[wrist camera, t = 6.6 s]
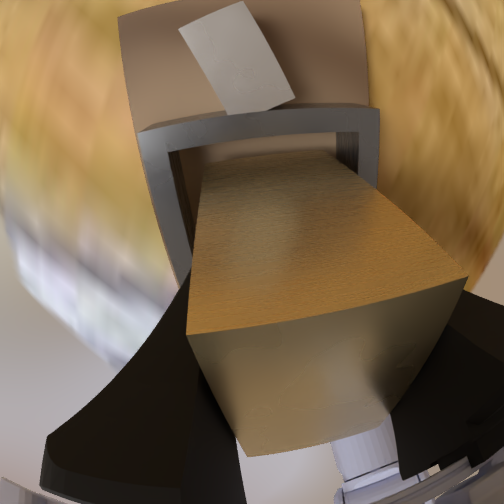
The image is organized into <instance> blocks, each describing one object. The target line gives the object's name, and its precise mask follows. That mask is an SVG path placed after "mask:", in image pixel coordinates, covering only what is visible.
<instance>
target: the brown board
mask: <svg viewBox="0 0 504 504" xmlns="http://www.w3.org/2000/svg"><path fill="white" fill-rule="evenodd" d="M118 27H119V37H120V46H121V54H122V61H123V68H124V75H125V81H126V88H127V93H128V99H129V105H130V110H131V115H132V120H133V125H134V130H135V135H136V140H137V144H138V149H139V153H140V157H141V162H142V166H143V170H144V174H145V178H146V182H147V186H148V190H149V193H150V197H151V201H152V205H153V208H154V212H155V215H156V219H157V222H158V226H159V229H160V232H161V236H162V239H163V242H164V246H165V249H166V252H167V255H168V258H169V261H170V264H171V267H172V270H173V273H174V276H175V279H176V282H177V285H178V288H179V289H180V287H181V285H182V283H183V281H184V280H185V278H186V276H187V274H188V272H189V270H190V268H191V266H192V259H193V250H194V241H195V233H196V225H197V217H198V209H199V202H200V195H201V188H202V181H203V174H204V168H205V163H211V162H217V161H223V160H230V159H237V158H244V157H252V156H260V155H269V154H278V153H288V152H300V151H313V150H324V151H325V152H327V153H328V154H329V155H331V156H332V157H334V158H335V159H337V160H338V161H339V162H341V163H342V164H343V165H345V166H346V167H348V168H349V169H350V170H352V171H353V172H354V173H356V174H357V175H358V176H360V177H361V178H362V179H364V180H365V181H366V182H367V183H369V184H370V185H371V186H373V187H374V188H375V189H377V176H378V160H379V132H380V109H378V108H373V107H369V90H368V70H367V56H366V45H365V36H364V27H363V19H362V12H361V6H360V0H178V1H174V2H169V3H165V4H161V5H157V6H153V7H149V8H145V9H142V10H138V11H135V12H132V13H129V14H125V15H122V16H120V17H118Z"/></svg>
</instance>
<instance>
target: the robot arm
mask: <svg viewBox="0 0 504 504" xmlns="http://www.w3.org/2000/svg"><path fill="white" fill-rule="evenodd" d="M191 269H192V266H191V268H190V270H189V272H188V274H187V276H186V278H185V280H184V281H183V283H182V285H181V287H180V289H179V290H178V292H177V294H176V295H175V297H174V299H173V301H172V302H171V304H170V306H169V307H168V309H167V310H166V312H165V313H164V315H163V316H162V318H161V319H160V321H159V322H158V324H157V325H156V327H155V328H154V330H153V331H152V333H151V334H150V335H149V337H148V338H147V339H146V341H145V342H144V343H143V345H142V346H141V347H140V349H139V350H138V351H137V352H136V354H135V355H134V356H133V357H132V358H131V360H130V361H129V362H128V363H127V364H126V365H125V366H124V367H123V369H122V370H121V371H120V372H119V373H118V374H117V375H116V376H115V378H114V379H113V380H112V381H111V382H110V383H109V384H108V385H107V386H106V387H105V388H104V389H103V390H102V391H101V392H100V393H99V394H98V395H97V396H96V397H95V398H93V399H92V400H91V401H90V402H89V403H88V404H87V405H86V406H85V407H83V408H82V409H81V410H80V411H79V412H78V413H77V414H75V415H74V416H73V417H72V418H70V419H69V420H68V421H67V422H65V423H64V424H63V425H61V426H60V427H59V428H58V429H56V430H55V431H54V432H52V433H51V434H49V435H48V436H47V439H46V444H45V450H44V455H43V462H42V469H41V476H40V487H41V488H42V490H45V491H47V492H49V493H52V494H54V495H57V496H60V497H62V498H66V499H68V500H71V501H74V502H77V503H81V504H247V502H246V497H245V492H244V486H243V481H242V476H241V470H240V463H239V458H238V451H237V444H236V437H235V435H234V433H233V431H232V429H231V427H230V425H229V424H228V422H227V420H226V418H225V416H224V414H223V412H222V410H221V408H220V406H219V405H218V403H217V401H216V399H215V397H214V395H213V393H212V391H211V389H210V386H209V384H208V382H207V380H206V378H205V376H204V374H203V372H202V370H201V368H200V365H199V363H198V361H197V359H196V357H195V354H194V352H193V350H192V348H191V345H190V343H189V341H188V339H187V336H186V328H187V314H188V301H189V290H190V279H191ZM330 443H331V446H332V450H333V454H334V458H335V461H336V465H337V468H338V470H339V471H340V473H341V474H342V476H343V480H344V482H345V483H342V488H339V489H338V490H337V492H336V494H335V495H334V504H504V306H503V305H500V304H497V303H494V302H492V301H489V300H487V299H485V298H482V297H479V296H477V295H475V294H472V293H470V292H468V291H465V290H463V291H462V293H461V295H460V297H459V300H458V302H457V304H456V306H455V308H454V310H453V312H452V314H451V316H450V318H449V320H448V322H447V324H446V326H445V328H444V330H443V332H442V334H441V336H440V338H439V339H438V341H437V343H436V345H435V346H434V348H433V350H432V352H431V353H430V355H429V357H428V358H427V360H426V362H425V363H424V365H423V366H422V368H421V370H420V371H419V373H418V374H417V376H416V377H415V379H414V380H413V382H412V383H411V385H410V386H409V388H408V389H407V391H406V392H405V393H404V395H403V396H402V398H401V399H400V400H399V402H398V403H397V404H396V406H395V407H394V408H393V410H392V411H391V412H390V414H389V415H388V416H387V417H386V419H385V420H384V421H383V422H382V424H381V425H380V426H379V427H377V428H375V429H372V430H369V431H366V432H363V433H360V434H356V435H353V436H350V437H346V438H343V439H339V440H336V441H332V442H330ZM437 464H438V465H439V468H440V470H441V471H439V472H437V473H436V474H434V475H432V476H429V473H428V471H427V469H429V468H431V467H433V466H435V465H437ZM478 469H479V472H478V474H477V475H475V476H473V477H471V478H469V479H467V480H465V481H463V482H461V481H462V480H464V479H466V478H467V477H468V476H470V475H471V474H473V473H474V472H475V471H477V470H478ZM459 482H461V483H459ZM458 483H459V484H458ZM456 484H457V485H456ZM453 486H454V487H453ZM448 489H449V490H448ZM445 491H446V492H445ZM443 492H445V493H443ZM442 493H443V494H442ZM440 494H442V495H441V496H440V497H438V498H437V499H436V500H435V497H436V496H438V495H440ZM0 504H66V503H63V502H61V501H58V500H55V499H53V498H50V497H47V496H45V495H42V494H38V493H36V492H33V491H31V490H28V489H26V488H24V487H22V486H20V485H18V484H16V483H14V482H12V481H10V480H8V479H6V478H4V477H2V478H1V482H0Z"/></svg>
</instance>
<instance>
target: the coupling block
mask: <svg viewBox="0 0 504 504" xmlns="http://www.w3.org/2000/svg"><path fill="white" fill-rule="evenodd" d="M467 279H468V275H467V274H466V272H465V271H464V270H463V269H462V268H461V267H460V266H459V265H458V264H457V263H456V262H455V261H454V260H453V259H452V258H451V257H450V256H449V255H448V254H447V253H446V252H445V251H444V250H443V249H442V248H441V247H440V246H439V245H438V244H437V243H436V242H435V241H434V240H433V239H432V238H431V237H430V236H429V235H428V234H427V233H426V232H425V231H424V230H423V229H422V228H421V227H419V226H418V225H417V224H416V223H415V222H414V221H413V220H412V219H411V218H409V217H408V216H407V215H406V214H405V213H404V212H403V211H402V210H400V209H399V208H398V207H397V206H396V205H395V204H393V203H392V202H391V201H390V200H389V199H387V198H386V197H385V196H384V195H382V194H381V193H380V192H379V191H378V190H376V189H375V188H374V187H373V186H371V185H370V184H369V183H367V182H366V181H365V180H364V179H362V178H361V177H360V176H358V175H357V174H356V173H354V172H353V171H352V170H350V169H349V168H348V167H346V166H345V165H343V164H342V163H341V162H339V161H338V160H337V159H335V158H334V157H332V156H331V155H329V154H328V153H327V152H325V151H324V150H313V151H300V152H288V153H278V154H269V155H260V156H252V157H244V158H237V159H230V160H223V161H217V162H211V163H205V168H204V174H203V181H202V188H201V195H200V202H199V209H198V217H197V225H196V233H195V241H194V250H193V259H192V269H191V279H190V290H189V301H188V314H187V328H186V336H187V339H188V341H189V343H190V345H191V348H192V350H193V352H194V354H195V357H196V359H197V361H198V363H199V365H200V368H201V370H202V372H203V374H204V376H205V378H206V380H207V382H208V384H209V386H210V389H211V391H212V393H213V395H214V397H215V399H216V401H217V403H218V405H219V406H220V408H221V410H222V412H223V414H224V416H225V418H226V420H227V422H228V424H229V425H230V427H231V429H232V431H233V433H234V435H235V436H236V438H237V440H238V441H239V443H240V445H241V447H242V449H243V450H244V452H245V454H246V455H247V457H253V456H261V455H269V454H275V453H281V452H286V451H292V450H298V449H302V448H307V447H312V446H316V445H320V444H324V443H328V442H332V441H336V440H339V439H343V438H346V437H350V436H353V435H356V434H360V433H363V432H366V431H369V430H372V429H375V428H377V427H379V426H380V425H381V424H382V422H383V421H384V420H385V419H386V417H387V416H388V415H389V414H390V412H391V411H392V410H393V408H394V407H395V406H396V404H397V403H398V402H399V400H400V399H401V398H402V396H403V395H404V393H405V392H406V391H407V389H408V388H409V386H410V385H411V383H412V382H413V380H414V379H415V377H416V376H417V374H418V373H419V371H420V370H421V368H422V366H423V365H424V363H425V362H426V360H427V358H428V357H429V355H430V353H431V352H432V350H433V348H434V346H435V345H436V343H437V341H438V339H439V338H440V336H441V334H442V332H443V330H444V328H445V326H446V324H447V322H448V320H449V318H450V316H451V314H452V312H453V310H454V308H455V306H456V304H457V302H458V300H459V297H460V295H461V293H462V291H463V288H464V286H465V283H466V281H467Z"/></svg>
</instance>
